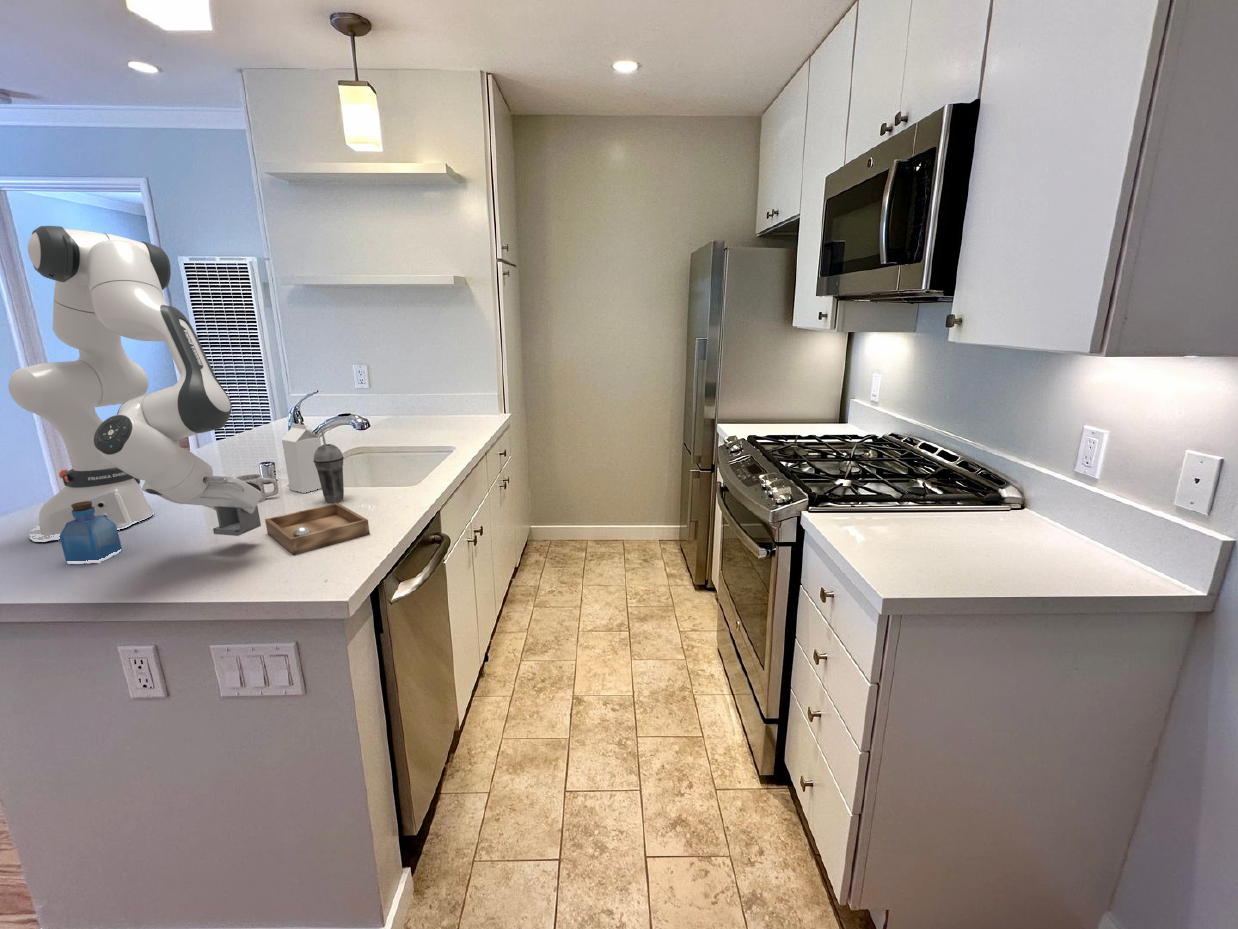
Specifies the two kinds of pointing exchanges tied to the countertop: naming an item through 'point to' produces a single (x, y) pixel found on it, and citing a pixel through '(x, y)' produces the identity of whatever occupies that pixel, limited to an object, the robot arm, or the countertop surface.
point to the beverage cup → (330, 471)
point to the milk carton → (301, 458)
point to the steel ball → (301, 531)
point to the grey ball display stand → (236, 521)
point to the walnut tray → (317, 527)
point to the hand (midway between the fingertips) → (236, 509)
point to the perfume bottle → (88, 535)
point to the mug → (260, 484)
